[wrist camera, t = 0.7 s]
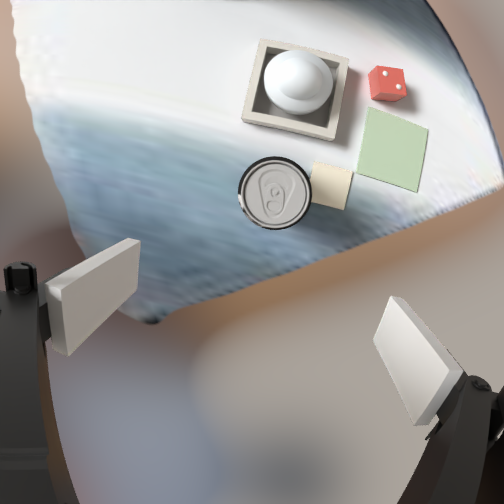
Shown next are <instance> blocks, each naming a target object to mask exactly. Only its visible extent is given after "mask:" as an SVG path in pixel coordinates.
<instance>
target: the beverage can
mask: <svg viewBox="0 0 504 504" xmlns="http://www.w3.org/2000/svg"><path fill="white" fill-rule="evenodd" d="M238 199H239V203H240V206H241V208H242V210H243V212H244V214H245V215H246V216H247V217H248V219H249V220H251V221H252V222H253V223H254V224H256V225H258V226H260V227H262V228H265V229H270V230H281V229H286V228H289V227H291V226H293V225H295V224H296V223H298V222H299V221H300V220H301V219H302V218H303V217H304V216H305V214H306V213H307V211H308V209H309V207H310V204H311V201H312V186H311V183H310V180H309V177H308V176H307V174H306V172H305V171H304V170H303V169H302V168H301V167H300V166H299V165H298V164H297V163H295V162H294V161H292V160H290V159H287V158H283V157H276V156H274V157H266V158H263V159H260V160H258V161H256V162H255V163H253V164H252V165H251V166H250V167H248V169H247V170H246V171H245V172H244V174H243V176H242V178H241V180H240V183H239V187H238Z"/></svg>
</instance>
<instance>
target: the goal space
mask: <svg viewBox="0 0 504 504" xmlns="http://www.w3.org/2000/svg"><path fill="white" fill-rule="evenodd" d="M427 133H428V129H426V128H423V127H421V126H419V125H416V124H414V123H411V122H409V121H406V120H404V119H401V118H399V117H396V116H394V115H391V114H388V113H385V112H383V111H380V110H377V109H374V108H371V107H368V112H367V118H366V124H365V129H364V134H363V140H362V145H361V150H360V155H359V160H358V164H357V169H356V173H359V174H362V175H365V176H369V177H372V178H375V179H378V180H381V181H384V182H388V183H391V184H394V185H397V186H400V187H403V188H406V189H408V190H411V191H414V192H417V188H418V184H419V179H420V174H421V169H422V164H423V158H424V152H425V146H426V140H427Z"/></svg>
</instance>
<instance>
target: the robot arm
mask: <svg viewBox="0 0 504 504" xmlns="http://www.w3.org/2000/svg"><path fill="white" fill-rule="evenodd" d="M140 244H141V241H139V240H134V239H130V238H127V239H125V240H123V241H121V242H119V243H117V244H115V245H113V246H111V247H109V248H107V249H106V250H104V251H102V252H100V253H98V254H96V255H94V256H92V257H91V258H89V259H87V260H85V261H83V262H82V263H80V264H78V265H76V266H74V267H70V268H66V269H64V270H62V271H60V272H58V273H57V274H55V275H53V276H52V277H49V278H48V279H46V280H44V281H42V282H41V283H39V284H37V272H36V266H35V265H34V264H32V263H29V262H14V263H11V264H8V265H7V266H5V268H4V277H5V285H6V292H5V291H0V504H80V503H79V501H78V498H77V496H76V493H75V490H74V487H73V484H72V481H71V478H70V475H69V471H68V468H67V465H66V461H65V457H64V454H63V450H62V446H61V442H60V438H59V433H58V428H57V424H56V419H55V413H54V408H53V401H52V395H51V389H50V380H49V372H48V362H47V350H46V345H45V341H46V340H48V339H49V338H50V337H51V340H52V345H53V350H55V351H57V352H59V353H62V354H64V355H66V356H68V357H69V356H70V355H71V353H72V352H73V351H74V350H75V349H76V348H77V347H78V346H79V345H80V344H81V343H82V342H83V341H84V340H85V339H86V338H87V337H88V336H89V335H90V334H91V333H92V332H93V331H94V330H95V329H96V328H97V327H99V326H100V325H101V324H102V323H103V322H104V321H105V320H106V318H108V317H109V316H110V315H111V314H112V313H113V312H114V311H115V310H116V309H117V308H118V307H119V306H120V305H121V304H122V303H123V302H125V301H126V300H127V299H128V298H129V297H130V296H131V295H132V294H133V293H134V292H135V291H136V290H137V280H138V266H139V254H140ZM373 342H374V344H375V346H376V348H377V350H378V352H379V354H380V356H381V358H382V360H383V361H384V364H385V365H386V368H387V370H388V372H389V374H390V376H391V378H392V380H393V382H394V384H395V386H396V388H397V391H398V392H399V395H400V397H401V399H402V401H403V403H404V405H405V408H406V410H407V412H408V414H409V416H410V418H411V421H412V423H413V425H414V426H417V425H428V424H429V423H430V422H431V420H432V419H433V417H434V416H435V415H436V414H437V416H438V418H439V421H438V423H437V424H436V425H435V427H434V428H433V429H432V431H431V432H430V433H429V434H428V436H427V437H426V438H425V440H427V439H428V438H430V439H429V441H428V443H427V446H426V448H425V451H424V453H423V455H422V457H421V459H420V461H419V464H418V465H417V467H416V470H415V472H414V474H413V475H412V477H411V480H410V481H409V483H408V485H407V487H406V489H405V491H404V492H403V494H402V496H401V498H400V499H399V501H398V503H397V504H504V430H503V428H504V386H503V388H502V389H501V391H500V392H499V393H495V392H492V390H491V387H490V385H489V384H488V383H487V382H486V381H485V380H484V379H482V378H480V377H478V376H473V375H471V376H468V375H467V374H466V372H465V371H464V370H463V369H462V367H461V366H460V365H459V364H458V363H457V362H456V360H455V359H454V357H452V355H451V354H450V352H449V351H448V350H447V349H446V348H445V347H444V346H443V344H442V343H441V342H440V341H439V340H438V338H437V337H436V336H435V335H434V334H433V333H432V332H431V330H430V329H429V328H428V327H427V325H426V324H425V323H424V322H423V321H422V320H421V319H420V317H419V316H418V315H417V314H416V313H415V312H414V311H413V309H412V308H411V307H410V306H409V305H408V304H407V303H406V302H405V300H404V299H403V298H399V297H394V296H390V298H389V301H388V304H387V306H386V309H385V311H384V314H383V317H382V319H381V322H380V324H379V326H378V329H377V331H376V333H375V336H374V338H373ZM502 430H503V433H502V435H501V436H500V438H499V439H498V438H497V436H498V435H499V434H500V432H501V431H502Z"/></svg>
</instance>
